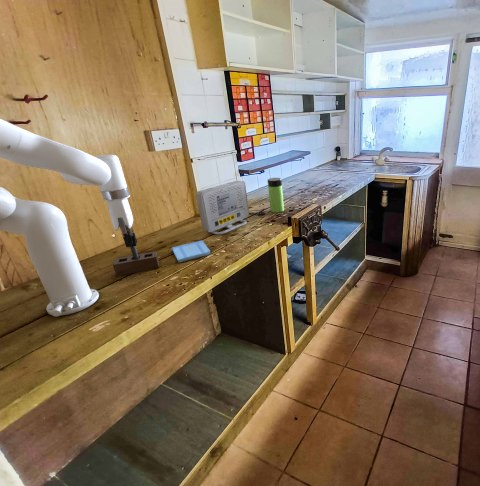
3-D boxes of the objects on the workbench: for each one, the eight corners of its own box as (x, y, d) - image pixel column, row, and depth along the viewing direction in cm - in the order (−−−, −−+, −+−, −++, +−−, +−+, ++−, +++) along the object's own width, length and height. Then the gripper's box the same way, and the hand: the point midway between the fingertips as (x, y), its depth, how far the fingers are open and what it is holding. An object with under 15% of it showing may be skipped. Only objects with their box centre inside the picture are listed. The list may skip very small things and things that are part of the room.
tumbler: (268, 210, 172) (265, 178, 165) (281, 207, 175) (278, 176, 168) (273, 213, 166) (269, 181, 159) (286, 211, 169) (283, 179, 162)
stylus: (141, 268, 113) (129, 230, 107) (136, 269, 112) (124, 231, 106) (142, 266, 114) (130, 228, 108) (137, 267, 114) (124, 229, 108)
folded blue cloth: (211, 254, 123) (210, 251, 122) (178, 262, 117) (177, 259, 116) (202, 242, 133) (202, 240, 132) (172, 250, 127) (171, 247, 126)
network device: (241, 217, 162) (235, 179, 153) (254, 220, 157) (248, 180, 149) (200, 234, 142) (191, 191, 134) (213, 237, 138) (205, 193, 130)
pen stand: (159, 267, 113) (155, 256, 112) (116, 276, 109) (112, 265, 107) (159, 261, 118) (156, 251, 116) (118, 269, 113) (115, 258, 111)
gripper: (106, 190, 107) (122, 239, 115) (97, 201, 94) (116, 256, 102) (131, 187, 110) (145, 235, 117) (125, 198, 97) (142, 251, 104)
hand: (131, 244), depth 109 cm, fingers closed on stylus, 1 cm apart
